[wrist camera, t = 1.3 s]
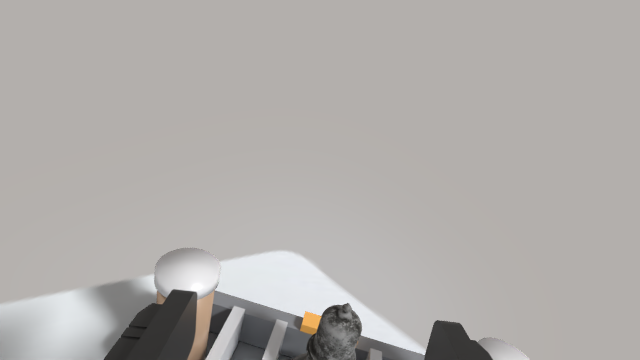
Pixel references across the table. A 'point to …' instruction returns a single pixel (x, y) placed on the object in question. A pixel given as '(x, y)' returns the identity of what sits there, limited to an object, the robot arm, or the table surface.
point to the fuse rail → (279, 332)
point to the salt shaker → (334, 335)
